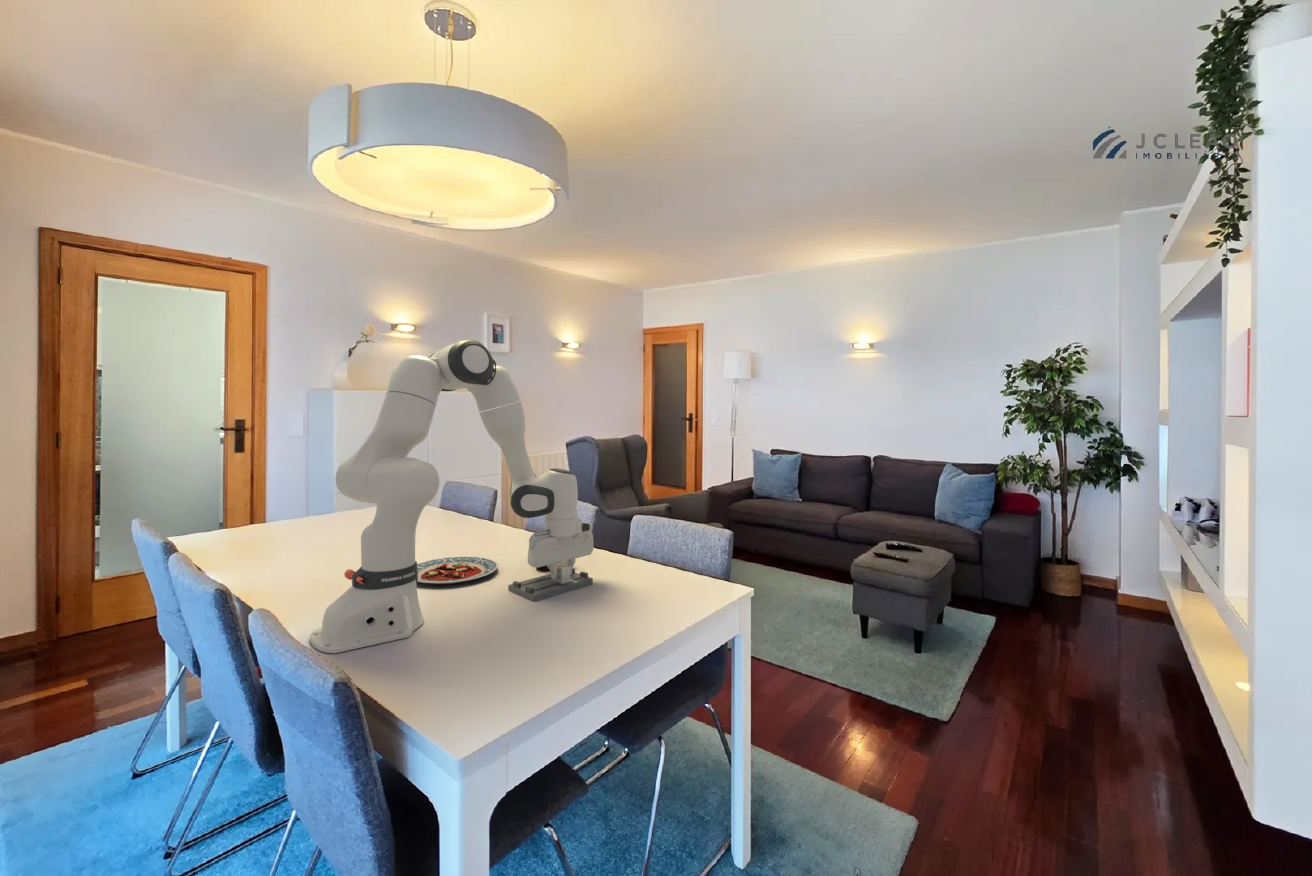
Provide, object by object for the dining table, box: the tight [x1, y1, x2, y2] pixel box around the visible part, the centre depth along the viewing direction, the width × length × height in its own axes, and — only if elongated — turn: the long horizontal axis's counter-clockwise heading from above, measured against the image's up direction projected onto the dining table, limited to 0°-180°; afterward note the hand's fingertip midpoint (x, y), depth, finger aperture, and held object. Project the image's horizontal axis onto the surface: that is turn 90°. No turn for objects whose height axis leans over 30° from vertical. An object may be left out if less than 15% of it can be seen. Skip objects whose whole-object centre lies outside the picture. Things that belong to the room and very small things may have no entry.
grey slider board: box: [507, 561, 594, 602], centre depth 153 cm, size 20×12×6 cm, turn 137°
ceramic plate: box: [417, 556, 499, 585], centre depth 163 cm, size 26×26×3 cm
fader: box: [553, 563, 570, 584], centre depth 151 cm, size 3×4×5 cm
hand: (561, 576), depth 152 cm, fingers closed on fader, 3 cm apart
